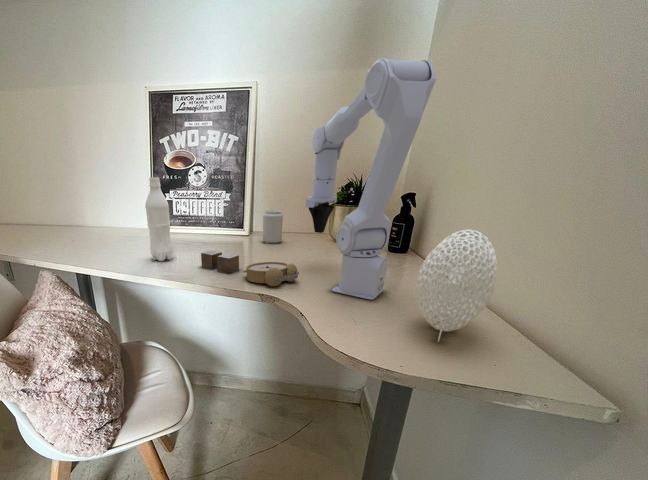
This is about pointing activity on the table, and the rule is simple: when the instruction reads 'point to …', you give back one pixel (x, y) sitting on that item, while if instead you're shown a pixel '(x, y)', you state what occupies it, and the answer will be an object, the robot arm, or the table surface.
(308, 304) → the table surface
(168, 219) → the water bottle
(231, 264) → the walnut block near
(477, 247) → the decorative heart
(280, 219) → the can
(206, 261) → the walnut block far
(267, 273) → the alarm clock
